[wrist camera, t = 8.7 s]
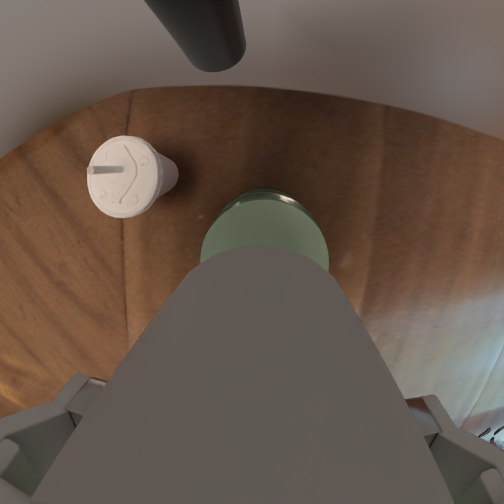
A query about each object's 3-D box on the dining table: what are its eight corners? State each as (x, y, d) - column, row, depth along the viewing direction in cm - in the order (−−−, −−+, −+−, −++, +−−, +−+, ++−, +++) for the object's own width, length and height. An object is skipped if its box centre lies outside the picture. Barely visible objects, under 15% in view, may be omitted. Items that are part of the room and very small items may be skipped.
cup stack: (218, 186, 30) (196, 192, 20) (316, 192, 30) (339, 200, 20) (216, 279, 32) (196, 322, 23) (308, 284, 32) (323, 329, 22)
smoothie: (196, 149, 29) (142, 131, 16) (185, 210, 31) (126, 238, 17) (139, 141, 29) (60, 126, 16) (130, 200, 31) (49, 221, 17)
